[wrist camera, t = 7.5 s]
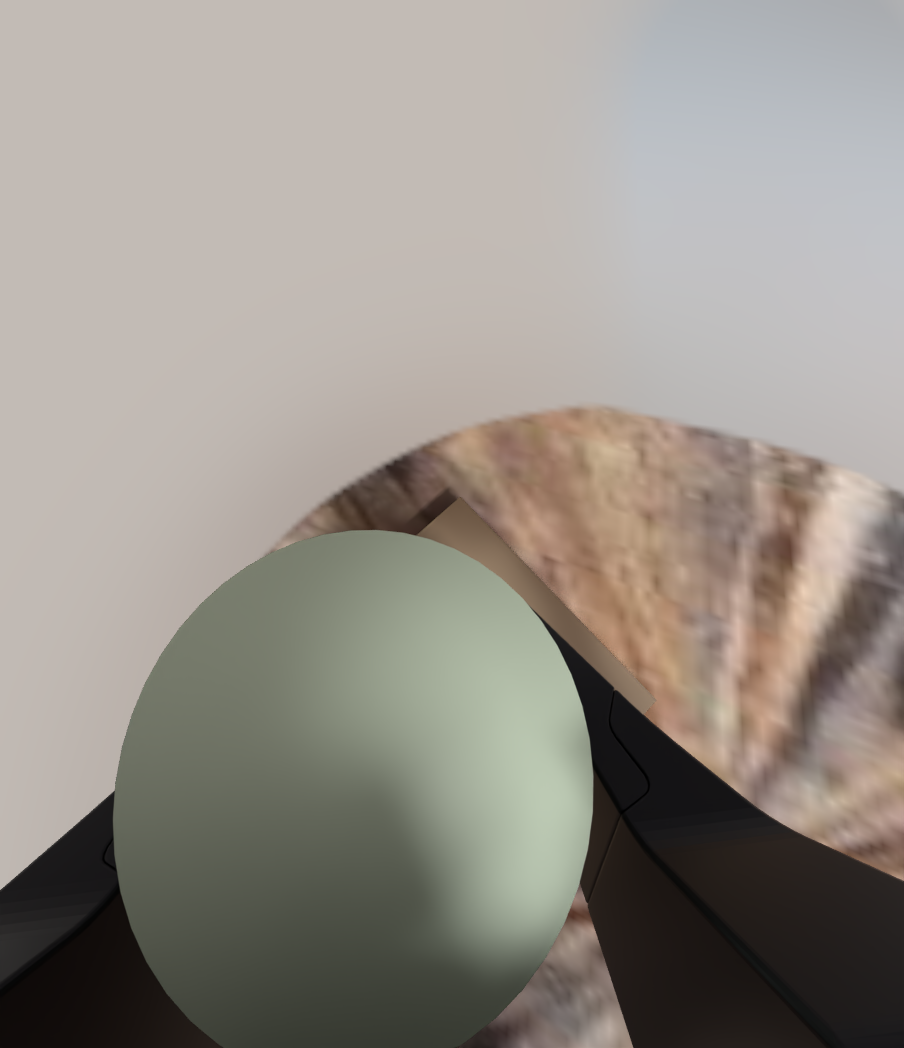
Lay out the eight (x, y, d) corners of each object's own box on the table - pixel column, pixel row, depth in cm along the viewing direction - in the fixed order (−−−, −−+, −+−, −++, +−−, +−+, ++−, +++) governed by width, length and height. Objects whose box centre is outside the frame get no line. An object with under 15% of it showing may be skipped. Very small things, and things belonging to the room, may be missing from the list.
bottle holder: (442, 920, 18) (438, 1011, 14) (263, 675, 21) (217, 691, 17) (645, 695, 21) (692, 716, 17) (460, 502, 23) (460, 479, 19)
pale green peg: (469, 727, 15) (523, 1190, 3) (357, 688, 15) (14, 952, 3) (502, 609, 16) (634, 602, 4) (397, 575, 16) (243, 481, 4)
